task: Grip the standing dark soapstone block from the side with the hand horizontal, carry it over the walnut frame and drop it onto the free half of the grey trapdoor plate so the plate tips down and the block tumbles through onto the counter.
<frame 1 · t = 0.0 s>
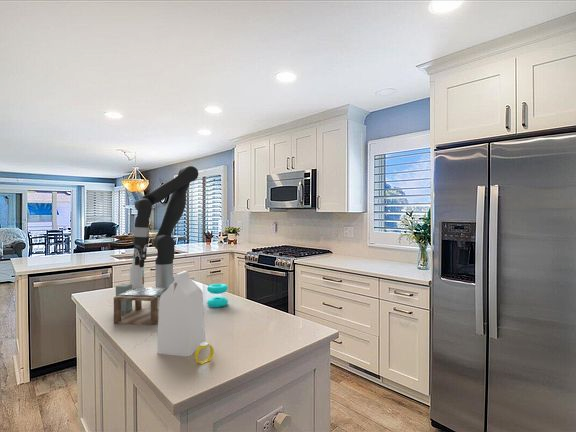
hand: (139, 266, 174), 17 cm above the counter, tool pointing down, fingers open, 8 cm apart
soapstone block: (124, 310, 153), on the counter
milk: (182, 348, 112), on the counter
frame: (145, 317, 144), on the counter
trapdoor: (142, 294, 144), point 10 cm above the counter, hinge at 0.0°
milk bottle: (137, 288, 196), on the counter
donuts: (217, 305, 162), on the counter
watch: (204, 362, 102), on the counter
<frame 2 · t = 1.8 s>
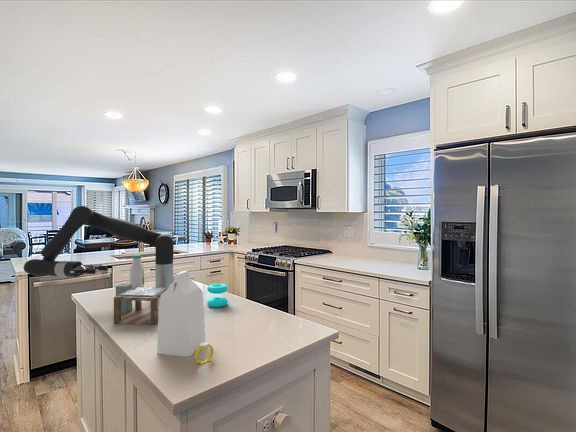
hand: (101, 269, 153), 19 cm above the counter, tool horizontal, fingers open, 8 cm apart
nothing on the counter moved.
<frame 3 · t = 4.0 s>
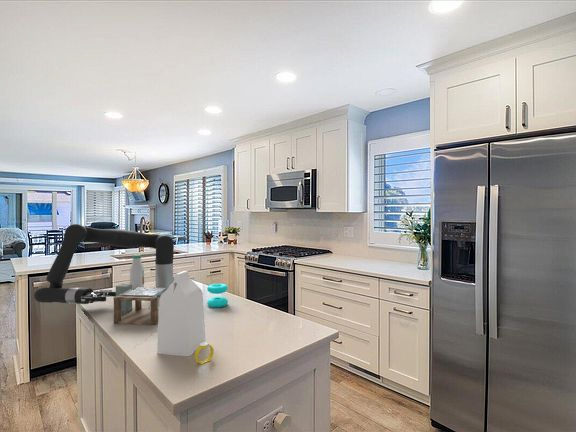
hand: (111, 296, 153), 6 cm above the counter, tool horizontal, fingers open, 8 cm apart
nothing on the counter moved.
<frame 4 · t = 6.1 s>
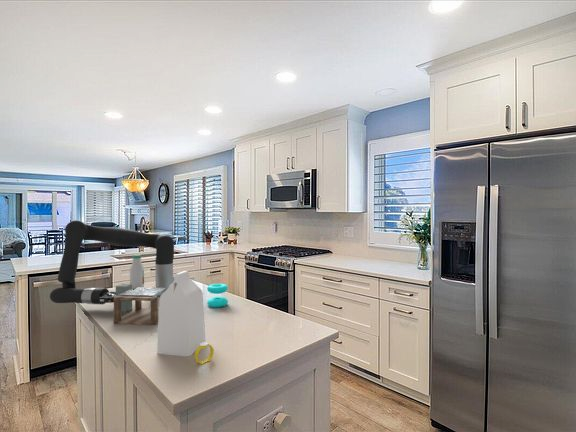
hand: (129, 296, 153), 7 cm above the counter, tool horizontal, fingers closed on soapstone block, 5 cm apart
soapstone block: (124, 310, 153), on the counter, touching gripper
everything else where it was.
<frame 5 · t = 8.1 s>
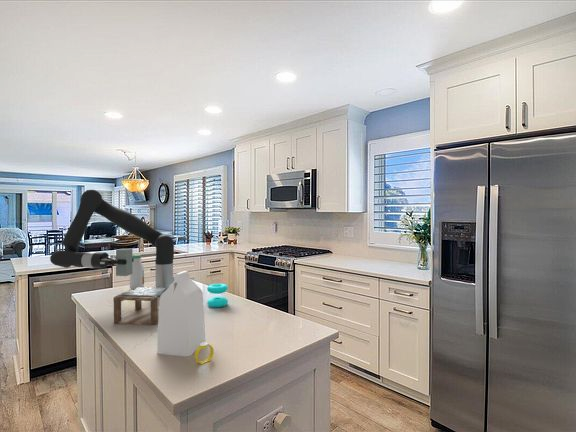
hand: (129, 261, 152), 23 cm above the counter, tool horizontal, fingers closed on soapstone block, 5 cm apart
soapstone block: (124, 274, 152), point 17 cm above the counter, touching gripper
everything else where it was.
when the fingers open (20 cm above the counter, at t = 10.2 s): soapstone block drops 10 cm and tips over, resting on frame.
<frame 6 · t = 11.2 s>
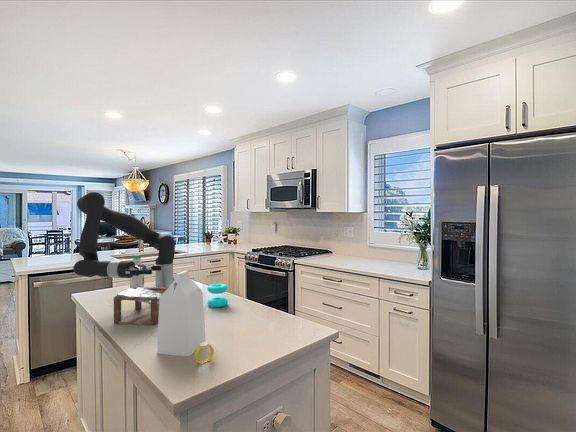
hand: (156, 269, 143), 21 cm above the counter, tool horizontal, fingers open, 8 cm apart
soapstone block: (158, 309, 143), point 4 cm above the counter, tilted 95°, touching frame
trapdoor: (141, 296, 144), point 9 cm above the counter, hinge at -11.5°
everything else where it was.
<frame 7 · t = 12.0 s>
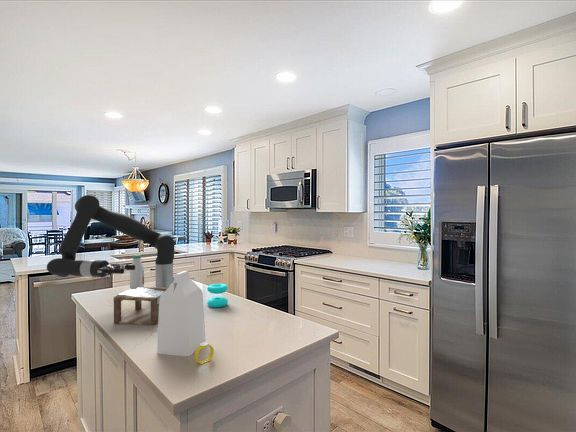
hand: (129, 269, 144), 21 cm above the counter, tool horizontal, fingers open, 8 cm apart
trapdoor: (141, 296, 144), point 9 cm above the counter, hinge at -6.9°
everything else where it was.
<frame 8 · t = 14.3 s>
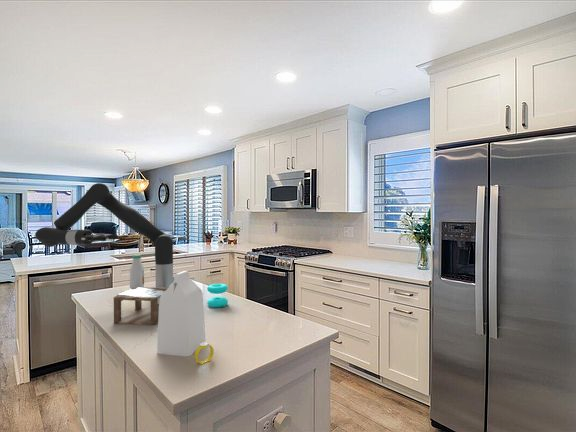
hand: (111, 237, 155), 34 cm above the counter, tool horizontal, fingers open, 8 cm apart
trapdoor: (141, 295, 144), point 9 cm above the counter, hinge at -6.3°
everything else where it was.
at the end: soapstone block point 3.6 cm above the counter; the gripper is holding nothing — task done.
